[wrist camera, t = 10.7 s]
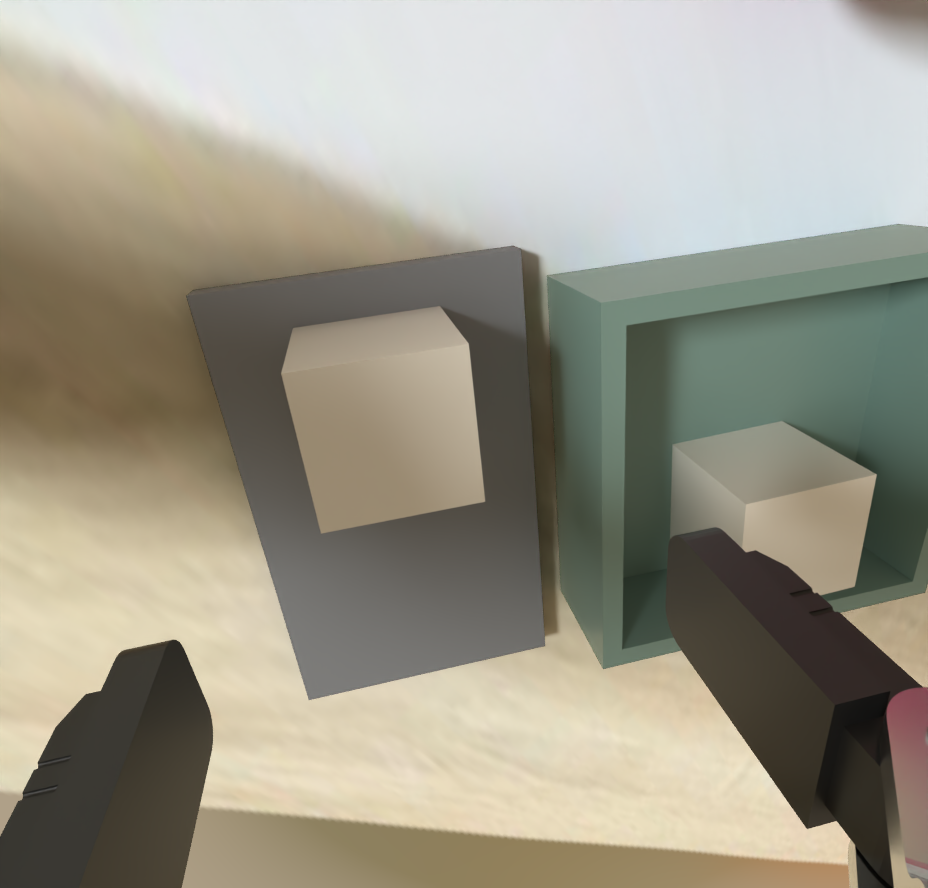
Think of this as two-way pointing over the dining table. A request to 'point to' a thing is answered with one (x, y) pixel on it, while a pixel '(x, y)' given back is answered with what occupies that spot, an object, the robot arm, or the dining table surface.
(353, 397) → the pale stone
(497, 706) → the dining table surface
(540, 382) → the dining table surface
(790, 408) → the bin
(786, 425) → the pale stone
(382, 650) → the stone mat
